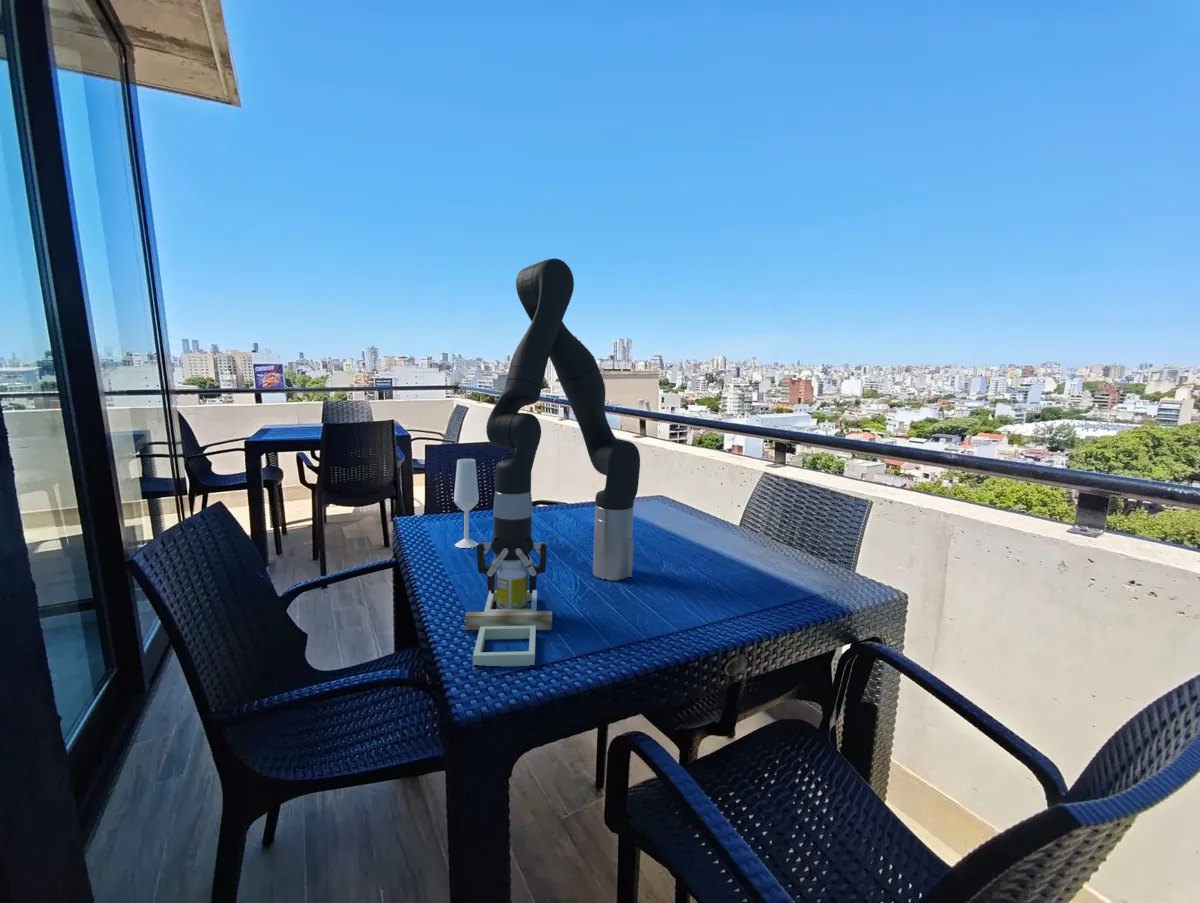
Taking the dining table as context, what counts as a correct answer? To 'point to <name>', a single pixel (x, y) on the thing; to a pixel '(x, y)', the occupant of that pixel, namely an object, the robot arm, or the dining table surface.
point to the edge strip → (509, 619)
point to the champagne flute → (466, 495)
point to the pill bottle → (512, 585)
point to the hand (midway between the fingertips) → (511, 591)
